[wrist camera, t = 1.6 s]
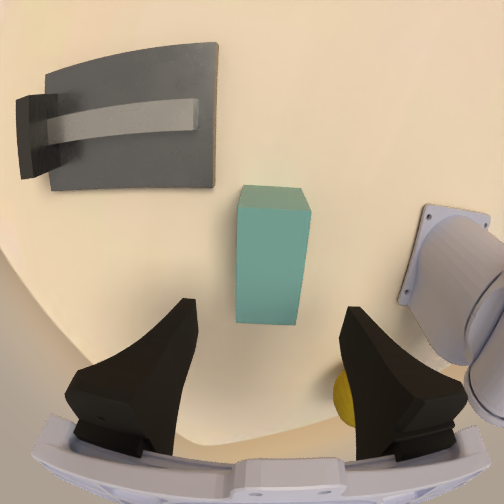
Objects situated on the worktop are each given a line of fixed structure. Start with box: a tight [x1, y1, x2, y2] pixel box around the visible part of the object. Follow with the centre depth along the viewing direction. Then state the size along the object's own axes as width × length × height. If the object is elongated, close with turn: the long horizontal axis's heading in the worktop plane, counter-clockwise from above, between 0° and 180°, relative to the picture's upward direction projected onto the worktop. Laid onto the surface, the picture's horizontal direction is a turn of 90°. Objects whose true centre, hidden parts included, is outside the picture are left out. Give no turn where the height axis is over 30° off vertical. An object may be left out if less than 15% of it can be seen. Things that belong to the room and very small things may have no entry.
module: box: [236, 185, 311, 325], centre depth 20 cm, size 4×8×5 cm, turn 178°
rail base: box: [16, 42, 219, 191], centre depth 16 cm, size 14×10×4 cm
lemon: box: [333, 369, 355, 427], centre depth 24 cm, size 6×6×8 cm
